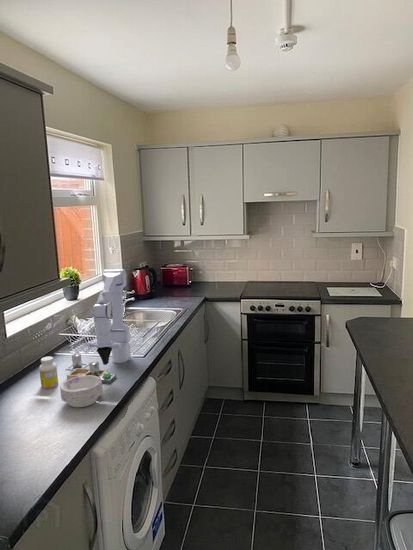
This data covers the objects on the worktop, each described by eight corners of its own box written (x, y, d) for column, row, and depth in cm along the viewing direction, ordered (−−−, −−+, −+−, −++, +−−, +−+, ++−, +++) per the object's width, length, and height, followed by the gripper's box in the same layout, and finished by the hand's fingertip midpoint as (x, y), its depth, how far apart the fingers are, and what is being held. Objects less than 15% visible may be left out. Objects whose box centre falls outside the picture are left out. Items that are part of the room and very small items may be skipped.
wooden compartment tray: (77, 373, 191) (76, 368, 190) (108, 375, 187) (107, 370, 187) (67, 380, 183) (66, 375, 183) (99, 383, 180) (98, 377, 179)
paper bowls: (73, 392, 172) (71, 373, 171) (109, 393, 170) (108, 375, 168) (54, 410, 158) (52, 390, 156) (93, 412, 155) (91, 392, 153)
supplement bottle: (41, 386, 179) (38, 356, 177) (58, 383, 181) (55, 354, 179) (41, 392, 173) (38, 362, 170) (58, 389, 175) (55, 359, 173)
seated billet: (93, 374, 187) (92, 361, 186) (101, 374, 186) (100, 361, 185) (88, 378, 183) (87, 364, 182) (97, 378, 182) (96, 365, 181)
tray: (74, 365, 200) (74, 362, 200) (89, 366, 199) (89, 363, 198) (65, 371, 193) (65, 368, 193) (80, 372, 191) (80, 369, 191)
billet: (75, 365, 198) (74, 353, 197) (83, 366, 197) (82, 353, 196) (71, 369, 194) (70, 356, 193) (79, 369, 193) (78, 357, 192)
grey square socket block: (104, 378, 184) (104, 373, 184) (116, 379, 183) (116, 374, 182) (98, 384, 178) (97, 379, 178) (110, 385, 177) (109, 380, 176)
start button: (105, 378, 182) (105, 371, 181) (111, 378, 181) (111, 372, 181) (102, 381, 179) (102, 374, 179) (108, 381, 179) (108, 374, 178)
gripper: (82, 334, 174) (85, 366, 177) (115, 336, 171) (117, 368, 173) (91, 329, 181) (93, 360, 184) (122, 330, 178) (125, 362, 180)
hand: (105, 363), depth 179 cm, fingers closed
